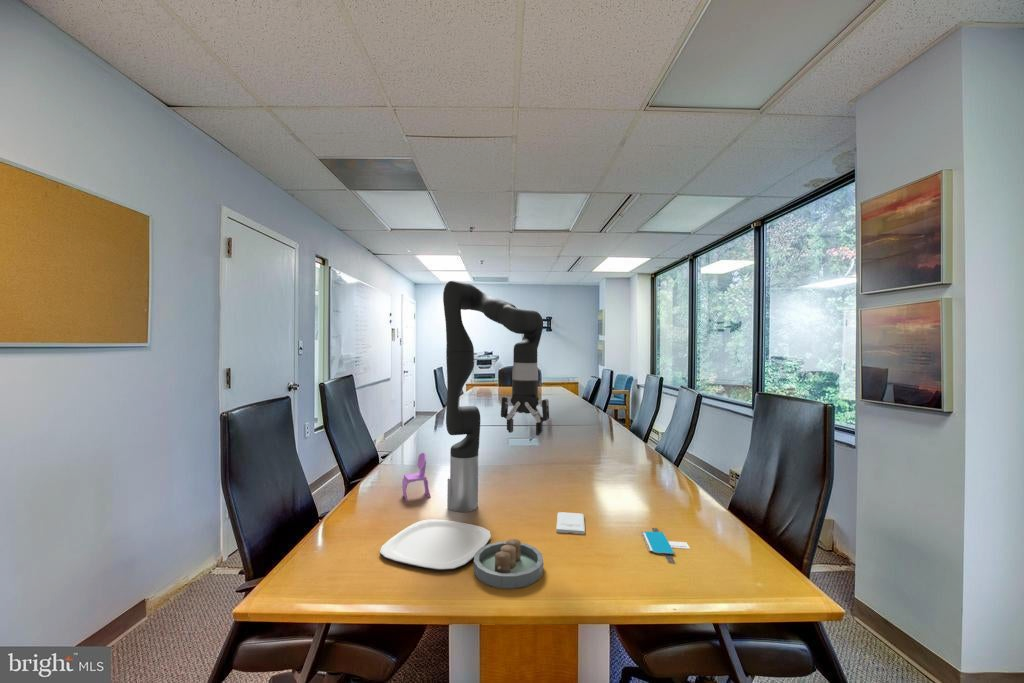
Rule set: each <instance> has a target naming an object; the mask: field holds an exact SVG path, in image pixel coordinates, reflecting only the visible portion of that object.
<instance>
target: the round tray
mask: <svg viewBox="0 0 1024 683" xmlns="http://www.w3.org/2000/svg"><path fill="white" fill-rule="evenodd" d="M506 541H507V540H505V541H504V540H501V541H498V542H497V541H496V542H491V543H487V544H486V545H485V546H484V547H482V548H480V549H479V550H478V551H477V552H476V553H475V555H474V558H473V572H474V575H475V577H476V578H477V579H478V580H479V581H480V582H481V583H482V584H485V585H486V586H489V587H492V588H496V589H501V590H515V589H521V588H527V587H529V586H532V585H533V584H535V583H537V582H538V581H539V580H540V578H541V577H542V575H543V573H544V572H543V571H544V558H543V557H544V556H543V553H542V552H541V551H540V550H539V549H538V548H537V547H534V546H533V545H530V544H528V543H525V542H521V558H520V561H518V562H516V566H515V567H514V568H513V569H510V573H499V572H495V554H496V553H497V552H500V551H501V547H502V546H504V545H506Z"/></svg>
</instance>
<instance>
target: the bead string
mask: <svg viewBox="0 0 1024 683" xmlns="http://www.w3.org/2000/svg"><path fill="white" fill-rule="evenodd" d="M505 541H506V545H504V546H502V547H501V551H500V552H497V553H496V554H495V572H499V573H510V569H513V568H514V567H515V566H516V562H518V561H520V558H521V543H522V542H521V541H520V540H519V539H516V538H511V539H508V540H505Z"/></svg>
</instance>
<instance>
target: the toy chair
mask: <svg viewBox="0 0 1024 683" xmlns="http://www.w3.org/2000/svg"><path fill="white" fill-rule="evenodd" d="M416 466H417V468H418V469H419V472H415V473H407V474H405V473H404V474H403V478H402V486H401V488H402V495H403V497H404V499H405V501H406V502H409V499H408V496H407V487H408V484H410V483H414V482H418V481H420V482H421V481H423V485H424V491H425V494H426V495H427V496H428V497H429V498H432V496H431V493H430V489H429V481H428V478H427V476H426V475H425V473H426V468H427V467H426V466H427V454H426V452H421V453H419V455H418V458H417V464H416Z"/></svg>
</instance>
